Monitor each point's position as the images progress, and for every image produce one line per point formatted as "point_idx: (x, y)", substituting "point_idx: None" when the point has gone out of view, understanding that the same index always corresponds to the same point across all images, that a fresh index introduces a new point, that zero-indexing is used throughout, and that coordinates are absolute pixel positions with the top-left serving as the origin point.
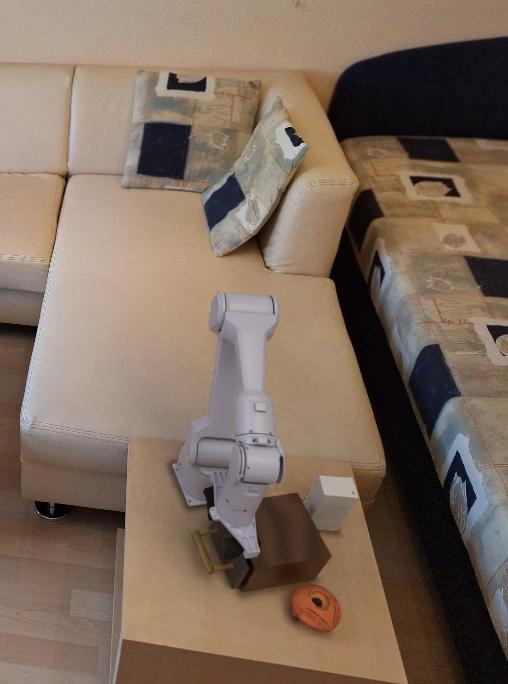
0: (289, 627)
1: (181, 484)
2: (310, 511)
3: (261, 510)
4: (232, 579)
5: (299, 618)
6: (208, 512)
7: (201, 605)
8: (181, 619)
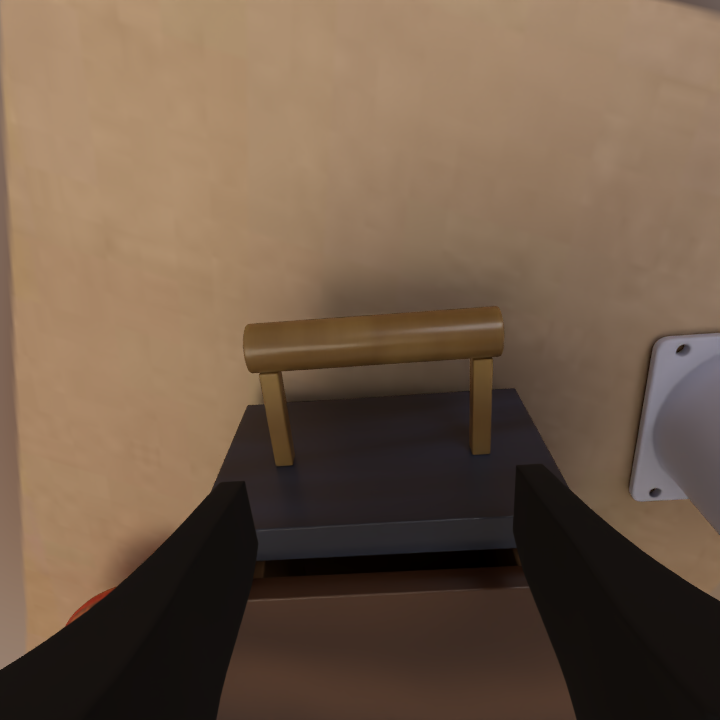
0: (127, 530)
1: None
2: None
3: (516, 714)
4: (262, 423)
5: (96, 600)
6: (570, 517)
7: (185, 256)
8: (111, 140)
